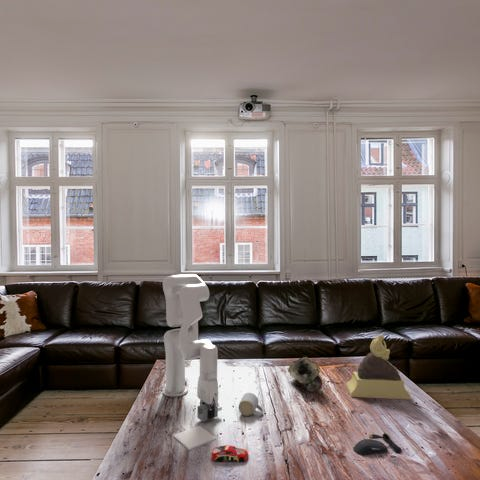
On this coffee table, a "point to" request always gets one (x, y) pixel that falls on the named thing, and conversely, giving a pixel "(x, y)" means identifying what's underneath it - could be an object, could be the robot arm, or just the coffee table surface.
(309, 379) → the hollow geode rock
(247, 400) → the ceramic mug
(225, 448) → the race car
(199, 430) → the felt coaster
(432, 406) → the coffee table surface
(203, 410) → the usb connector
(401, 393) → the yellow brown mound sculpture
